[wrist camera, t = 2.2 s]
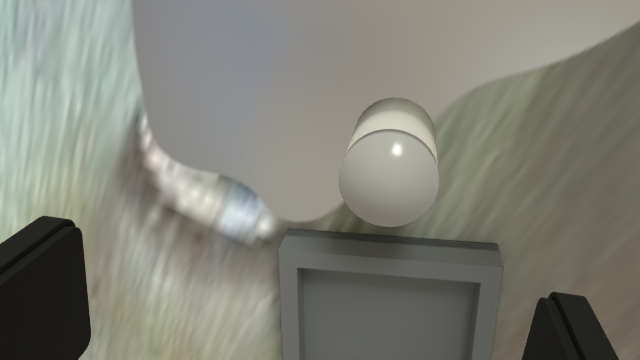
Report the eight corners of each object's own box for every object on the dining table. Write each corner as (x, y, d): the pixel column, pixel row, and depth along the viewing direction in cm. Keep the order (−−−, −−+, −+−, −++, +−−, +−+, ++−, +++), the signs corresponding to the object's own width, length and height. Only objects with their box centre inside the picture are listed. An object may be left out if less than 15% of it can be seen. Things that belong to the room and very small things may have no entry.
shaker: (438, 99, 33) (443, 137, 26) (432, 175, 35) (435, 230, 28) (355, 96, 34) (339, 132, 27) (354, 171, 36) (338, 223, 29)
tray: (497, 243, 36) (503, 267, 33) (475, 407, 41) (479, 439, 39) (288, 228, 38) (278, 249, 35) (293, 386, 43) (284, 415, 41)
